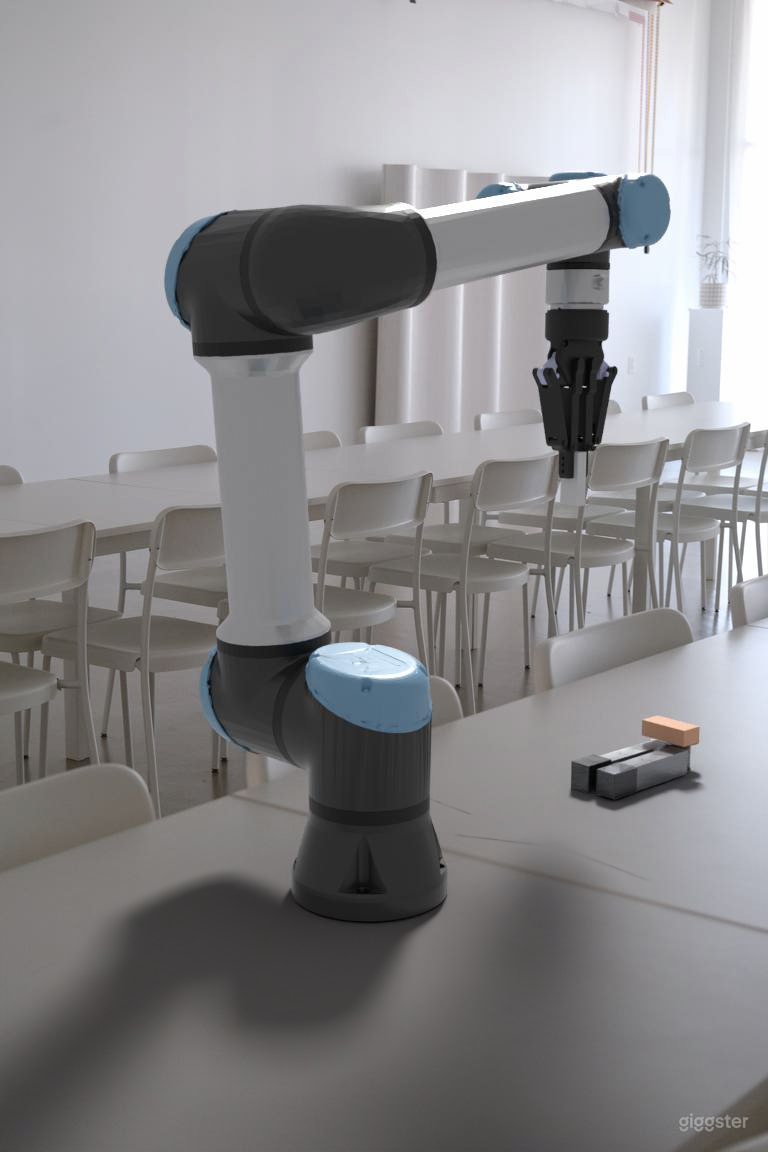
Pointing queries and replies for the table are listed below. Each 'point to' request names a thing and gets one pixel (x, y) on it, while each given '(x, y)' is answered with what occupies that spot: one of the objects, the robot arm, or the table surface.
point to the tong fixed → (611, 762)
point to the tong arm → (641, 772)
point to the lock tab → (670, 731)
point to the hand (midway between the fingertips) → (572, 504)
